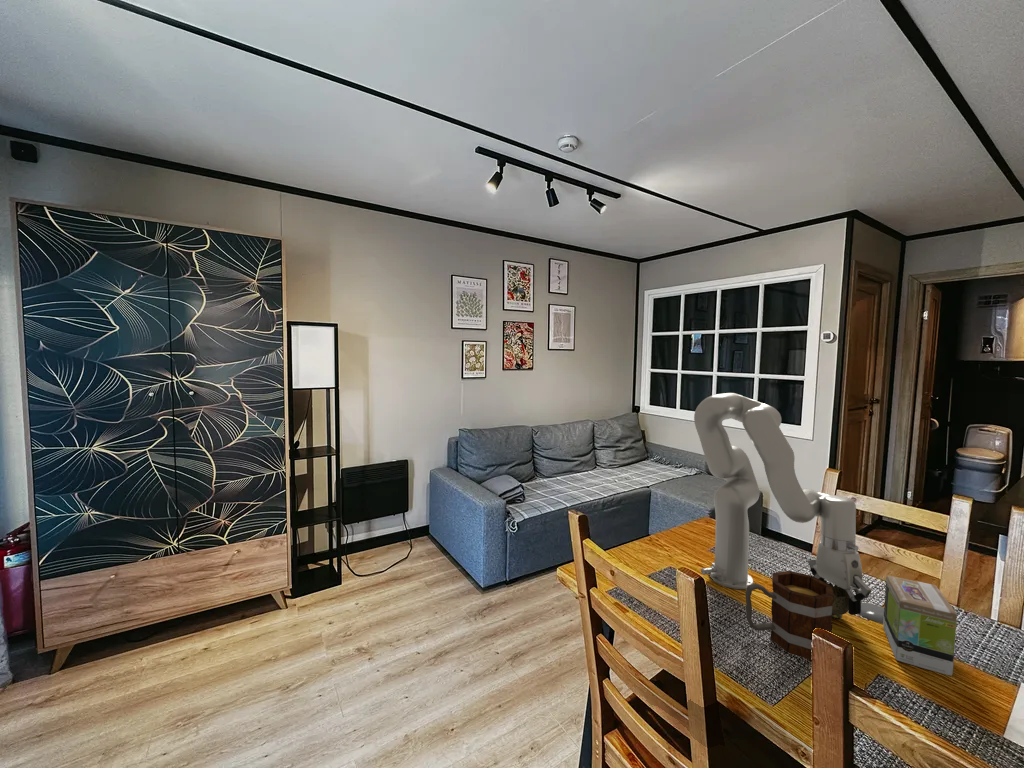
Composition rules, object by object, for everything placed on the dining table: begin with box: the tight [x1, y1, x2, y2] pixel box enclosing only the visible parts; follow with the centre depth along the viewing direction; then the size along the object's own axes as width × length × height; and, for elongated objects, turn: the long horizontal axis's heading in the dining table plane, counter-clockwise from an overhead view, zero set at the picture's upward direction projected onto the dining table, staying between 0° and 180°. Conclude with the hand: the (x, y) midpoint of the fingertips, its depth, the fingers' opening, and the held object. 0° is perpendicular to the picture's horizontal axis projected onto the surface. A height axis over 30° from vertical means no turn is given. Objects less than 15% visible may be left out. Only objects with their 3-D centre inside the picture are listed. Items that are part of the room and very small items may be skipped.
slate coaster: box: [858, 602, 884, 624], centre depth 118 cm, size 10×10×1 cm
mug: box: [744, 570, 834, 661], centre depth 106 cm, size 20×14×15 cm
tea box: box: [882, 574, 958, 677], centre depth 103 cm, size 15×10×15 cm, turn 148°
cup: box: [825, 582, 851, 621], centre depth 117 cm, size 8×7×8 cm
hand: (837, 603), depth 116 cm, fingers open, 9 cm apart
